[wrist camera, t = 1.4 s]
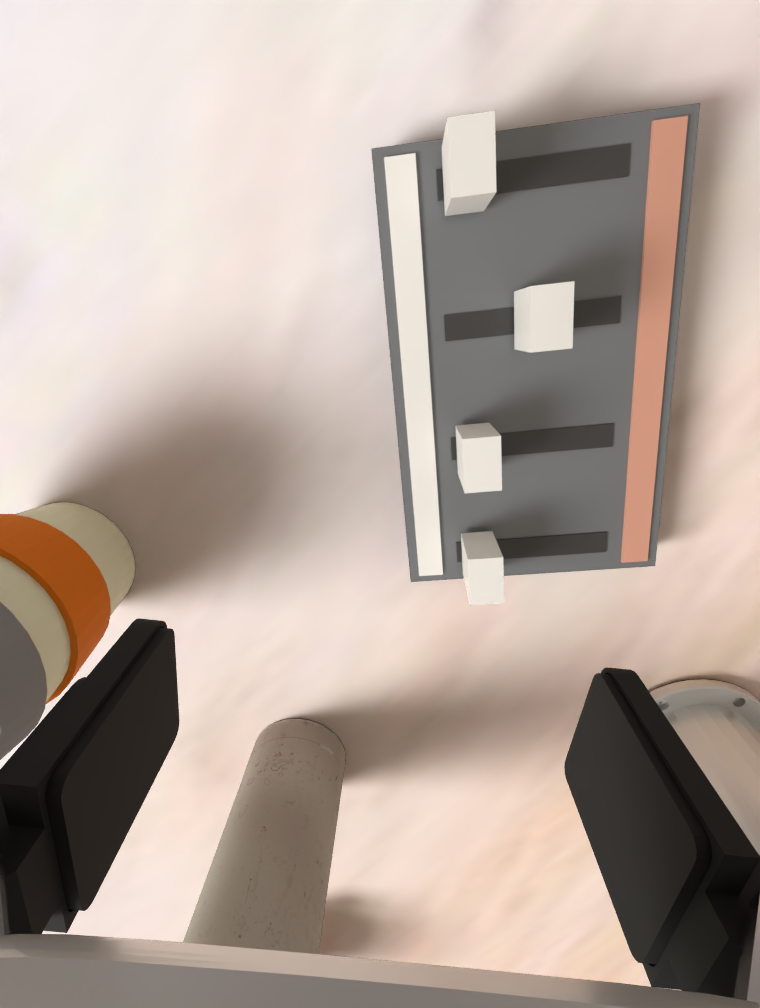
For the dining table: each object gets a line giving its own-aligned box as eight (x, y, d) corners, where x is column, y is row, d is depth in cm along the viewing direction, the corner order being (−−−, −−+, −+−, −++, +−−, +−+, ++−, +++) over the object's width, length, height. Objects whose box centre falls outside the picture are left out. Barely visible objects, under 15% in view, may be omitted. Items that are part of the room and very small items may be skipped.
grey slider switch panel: (673, 123, 26) (758, 58, 20) (638, 549, 34) (690, 599, 28) (374, 164, 27) (365, 114, 21) (410, 565, 36) (411, 616, 29)
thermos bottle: (299, 801, 44) (143, 1494, 18) (235, 748, 42) (-41, 1431, 16) (364, 760, 42) (296, 1475, 16) (300, 702, 40) (103, 1400, 14)
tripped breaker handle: (551, 287, 26) (574, 281, 23) (550, 345, 27) (572, 348, 24) (513, 291, 26) (530, 286, 23) (514, 349, 27) (530, 352, 24)
